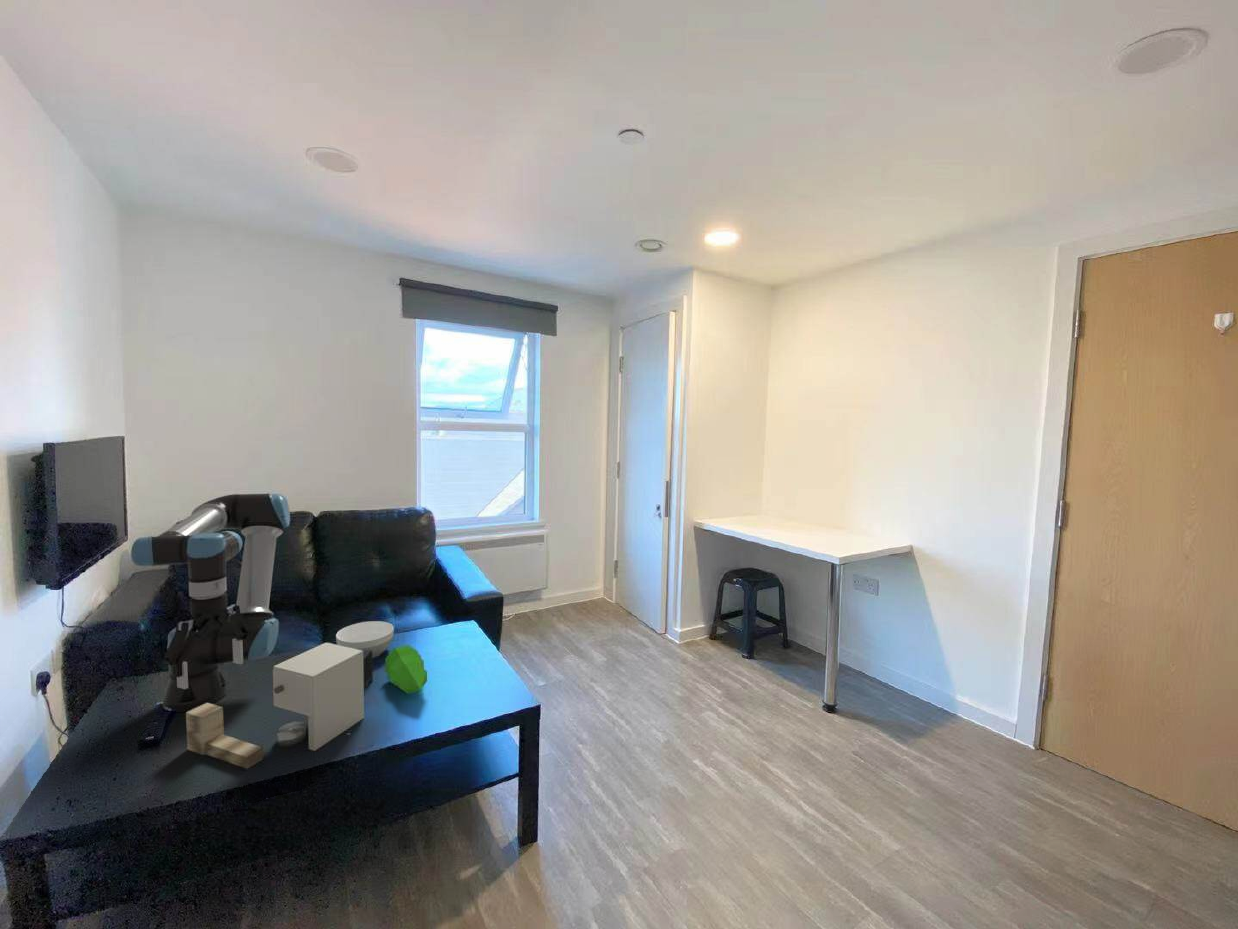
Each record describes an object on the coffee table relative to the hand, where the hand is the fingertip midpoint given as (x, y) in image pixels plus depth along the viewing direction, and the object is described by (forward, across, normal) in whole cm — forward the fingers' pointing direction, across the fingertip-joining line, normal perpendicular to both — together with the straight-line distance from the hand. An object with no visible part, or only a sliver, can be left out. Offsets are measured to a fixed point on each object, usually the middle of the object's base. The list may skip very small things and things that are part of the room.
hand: (211, 675), depth 133 cm
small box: (+19, +36, -9) cm, 42 cm away
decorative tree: (+19, +41, -26) cm, 52 cm away
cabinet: (+19, +15, -20) cm, 31 cm away
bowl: (+19, +55, +3) cm, 58 cm away
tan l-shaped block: (+19, -2, -6) cm, 20 cm away
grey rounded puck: (+19, +8, -16) cm, 26 cm away
